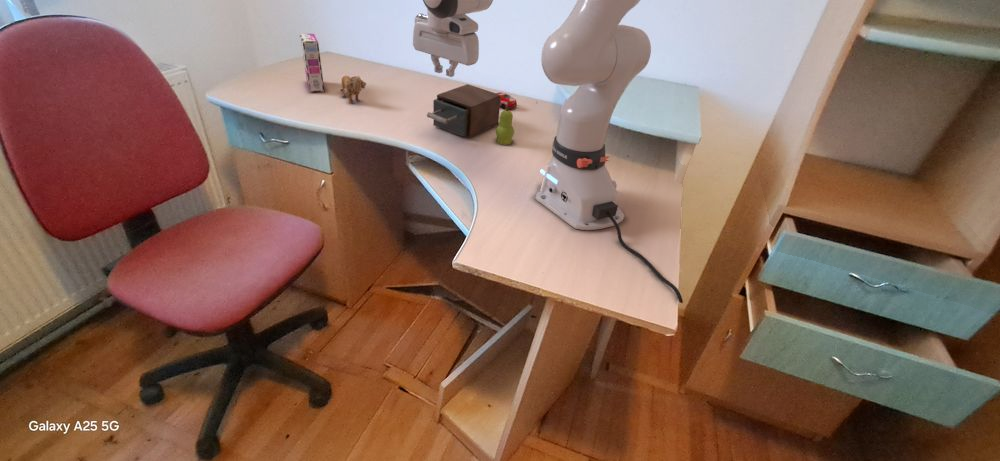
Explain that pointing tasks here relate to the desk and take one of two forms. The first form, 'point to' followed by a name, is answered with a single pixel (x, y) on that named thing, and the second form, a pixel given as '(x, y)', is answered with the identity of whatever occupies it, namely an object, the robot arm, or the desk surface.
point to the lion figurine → (352, 87)
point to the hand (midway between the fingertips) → (444, 74)
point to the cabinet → (475, 106)
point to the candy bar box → (312, 62)
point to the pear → (505, 128)
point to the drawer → (450, 116)
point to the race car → (507, 101)
